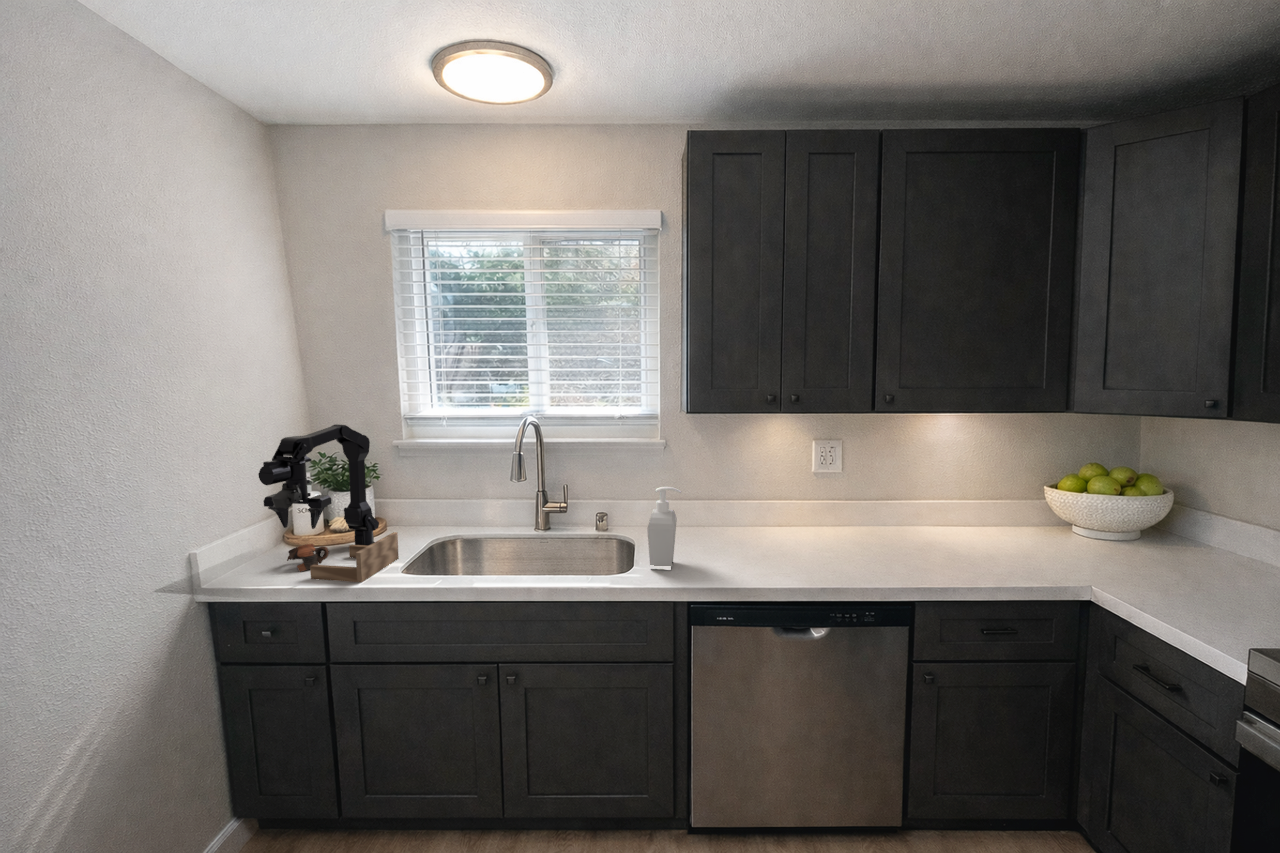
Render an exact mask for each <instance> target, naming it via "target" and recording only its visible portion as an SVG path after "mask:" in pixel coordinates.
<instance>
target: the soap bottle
mask: <svg viewBox="0 0 1280 853" xmlns="http://www.w3.org/2000/svg"><path fill="white" fill-rule="evenodd" d="M667 491H673V492H674V491H675V492H677V493H679V494H681V493H682V490H681V489H678V488H676V487H673V486H660V487H657V488H656V489H655V493H658V492H659V499H658V500H656V502H655V505H656V506H655V508H653V509H652V512H651V514H650V517H649V521H648V524H647V528H646V529H647V541H648V555H649V556H648V557H649V566H650V565H654V566H672V567H673V565H672V562H673V563H674V555H675V542H676V534H677V533H676V531H677V523H678V522H677V515H676V512H675V511H674V509H670V501H669V500H667Z"/></svg>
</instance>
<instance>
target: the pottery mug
mask: <svg viewBox="0 0 1280 853" xmlns="http://www.w3.org/2000/svg"><path fill="white" fill-rule="evenodd" d="M287 552H288V556H287V559H286V562H288V561H289V560H292V561H296V560H301V561H302V563H301V564H298V565H297V570H298V572H299V571H300V572H299V573H301V571H302V572H304V571H307V570H310V566H312V565H322V562H323V561H324V560H326V559H327V558H328V556H329V554H330V551H329V548H328V547H326V546H318V547H315V544H313V543H307V544H303V545H299V546H297V547H293V548H291V549H289V551H287ZM322 553H323V555H322V556H321V554H322Z"/></svg>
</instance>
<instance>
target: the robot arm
mask: <svg viewBox="0 0 1280 853" xmlns="http://www.w3.org/2000/svg"><path fill="white" fill-rule="evenodd" d="M332 441H336V442H337V443H338V444H340V445H341V446H342V451H343V452H342V453H343V454H344V456H345V457H346V459H347V460H348V474H349V475H348V476H349V478H348V479H349V493H350V494H349V500H350V501H349V503H348V506H347V507H344V509H343V513H344V515H343V520H344V521H345V523H346V524H347V527H348V529H349V530H354V545H367V546H369V545H371V544H373V543H375V542H376V541H375V540H374V531H377V530H378V529H379V526H380V525H379V524H380V521H379V520H377V519H376V518H375V517H374V516H373V511H372V507H371V505H370V504H369V503H368V501H367V488H366V487H367V486H366V468H365V467H366V466H365V465H366V463H365V462H366V461H365V460H366V458H367V457H368V455H369V452H370V444H371V443H370V439H369V437H368V436H367V435H365V434H362V433H361V432H358V431H356V430H354V429H352V428H351V427H350V426H348V425H346V424H337V423H336V424H335V423H334V424H333V425H331V426H328V427H325V428H322V429H319V430H316V431H314V432H312V433H308V434H305V435H293V436H285V437H283V438H282V439H280V442H279V445H278V447H277V449H276V451H275V452H274V455H273V456H272V458H271V460H270V461H268V460H267V461H263V462H262V466H261V468H260V469H259V472H258V474H257V475H258V478H259V481H260V482H261V484H263V485H264V486H271V485H275V484H279V483H282V485H281V486H282V488H281V489H280V491H279V490H278V492H277V493H273V494H269V495H267V496H265V498H264V499H263V507H267V509H268V510H272V511H273V512H275V514H276V515H277V518H278V519H279V520H280V523H281V525H282V527H283V529H284V528H285V529H286V528H288V526H289V509H290V508H291V507H292V505H293V504H294V505H295V504H297V505H307V506H308V507H309V508H307V511H308V512H309V513H310V526H311V529H312V530H315V529H316V527H317V524H318V521H319V520H320V517H321V515H322V513H323V512H324V510H325V508H327V507H328V506H329V505H331V504H332V497H331V496H330V495H329V494H317V495H314V496H312V497H311V495H312V493H311V492H308V484H310V483H311V481H310V479H308V478H307V465H306V464H307V463H308V462H310V463H311V462H312V458H310V457H309V456H307V455H308V454H310V453H311V452H313V449H315V448H316V447H319V446H321V445H324V444H327V443H330V442H332Z"/></svg>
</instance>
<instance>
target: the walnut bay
mask: <svg viewBox="0 0 1280 853" xmlns="http://www.w3.org/2000/svg"><path fill="white" fill-rule="evenodd" d="M398 536H399V535H398V532H394V531H392V532H391V533H389V534H388V535H386V536H384V537H381V538H380V539H378V540H376V541H374V542H375V543H373V544H371V545H369V546H367V545H355V544H351V545H349V546H348V547H349V548H348V552H349V558H350V557H351V558H350V559H355V562H356V564H355V565H356V566H345V565H342V566H341V565H329V564H328V565H326V564H318V565H312V566H310V569H309V570H310V572H309V573H310V580H316V579H319V580H318V581H320V580H321V581H334V582H335V581H337V582H350V583H351V582H352V583H353V582H354V583H363V582H365V581H366V580H368V579H369V578H371V577H373V576H374V575H376V574H377V573H379V572H380V571H382V570H384V569H386V568H387V567H388V566H390V565H392V564H393V563H394V561H395V560H396V561H398V560H399V557H400V556H399V539H398V538H399V537H398ZM352 557H353V558H352ZM397 559H398V560H397ZM396 561H395V562H396ZM392 562H393V563H392ZM389 564H390V565H389ZM386 566H387V567H386ZM383 568H384V569H383Z"/></svg>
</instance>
